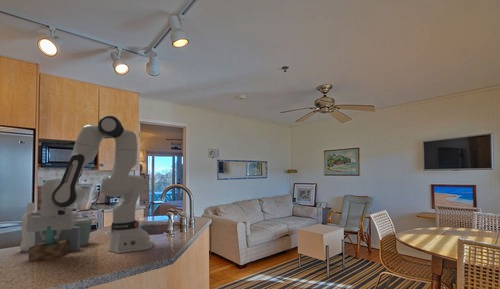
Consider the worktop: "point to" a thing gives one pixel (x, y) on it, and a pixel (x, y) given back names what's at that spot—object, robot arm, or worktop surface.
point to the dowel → (50, 236)
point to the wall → (65, 237)
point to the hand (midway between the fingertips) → (50, 239)
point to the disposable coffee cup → (83, 228)
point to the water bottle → (27, 237)
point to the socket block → (48, 250)
